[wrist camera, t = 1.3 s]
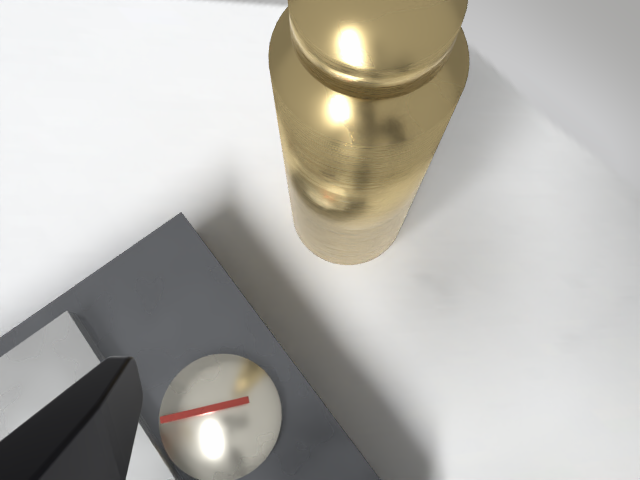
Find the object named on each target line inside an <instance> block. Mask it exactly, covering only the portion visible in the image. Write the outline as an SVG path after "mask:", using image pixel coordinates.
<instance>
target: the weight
mask: <svg viewBox="0 0 640 480" xmlns="http://www.w3.org/2000/svg"><path fill="white" fill-rule="evenodd" d="M467 4H468V0H288V7H287V8H286V10H285V11H284V12H283V13H282V15H281V17H280V18H279V20H278V22H277V23H276V26H275V28H274V31H273V33H272V37H271V41H270V45H269V69H270V75H271V82H272V88H273V94H274V101H275V107H276V113H277V120H278V126H279V133H280V139H281V145H282V152H283V158H284V164H285V171H286V177H287V184H288V190H289V196H290V203H291V209H292V215H293V221H294V226H295V229H296V232H297V234H298V236H299V238H300V239H301V241H302V242H303V244H304V245H305V246H306V247H307V248H308V249H309V250H310V251H311V252H312V253H314V254H315V255H317V256H318V257H320V258H322V259H324V260H326V261H329V262H332V263H336V264H341V265H355V264H361V263H365V262H368V261H370V260H372V259H374V258H376V257H378V256H379V255H381V254H382V253H384V252H385V251H386V250H387V249H388V248H389V247H390V246H391V244H392V243H393V242H394V240H395V239H396V237H397V235H398V232H399V230H400V228H401V226H402V224H403V221H404V219H405V217H406V215H407V213H408V210H409V208H410V206H411V204H412V202H413V199H414V197H415V195H416V193H417V191H418V188H419V186H420V184H421V182H422V180H423V178H424V175H425V173H426V171H427V169H428V167H429V164H430V162H431V160H432V158H433V156H434V153H435V151H436V149H437V147H438V145H439V142H440V140H441V138H442V136H443V134H444V131H445V129H446V127H447V125H448V123H449V120H450V118H451V116H452V114H453V112H454V109H455V107H456V105H457V103H458V101H459V98H460V96H461V94H462V92H463V90H464V87H465V84H466V81H467V77H468V71H469V51H468V45H467V41H466V38H465V35H464V32H463V30H462V28H461V24H462V22H463V19H464V16H465V13H466V9H467Z"/></svg>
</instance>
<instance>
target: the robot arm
mask: <svg viewBox="0 0 640 480" xmlns="http://www.w3.org/2000/svg"><path fill="white" fill-rule="evenodd" d="M142 404H143V390H142V386H141V382H140V377H139V373H138V368H137V364H136V361H135V359H134V358H133V357H132V356H110V357H108V358H106V359H104V360H103V361H102V362H101V363H99V364H98V365H97V366H95V367H94V368H93V369H92V370H90V371H89V372H88V373H87V374H85V375H84V376H83V377H81V378H80V379H79V380H78V381H76V382H75V383H74V384H72V385H71V386H70V387H69V388H67V389H66V390H65V391H63V392H62V393H61V394H60V395H58V396H57V397H56V398H54V399H53V400H52V401H51V402H49V403H48V404H47V405H45V406H44V407H43V408H42V409H40V410H39V411H38V412H36V413H35V414H34V415H33V416H31V417H30V418H29V419H27V420H26V421H25V422H24V423H22V424H21V425H20V426H18V427H17V428H16V429H15V430H13V431H12V432H11V433H9V434H8V435H7V436H6V437H4V438H3V439H2V440H0V480H126V476H127V472H128V467H129V463H130V458H131V454H132V449H133V445H134V440H135V436H136V431H137V427H138V422H139V418H140V413H141V409H142Z"/></svg>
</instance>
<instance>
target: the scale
mask: <svg viewBox="0 0 640 480" xmlns="http://www.w3.org/2000/svg"><path fill="white" fill-rule="evenodd" d="M110 356H132V357H133V358H134V359H135V361H136V364H137V368H138V373H139V377H140V382H141V386H142V390H143V404H142V409H141V413H140V418H139V422H138V427H137V431H136V436H135V440H134V445H133V449H132V454H131V458H130V463H129V467H128V472H127V476H126V480H380V479H379V477H378V476H377V475H376V473H375V472H374V470H373V469H372V468H371V466H370V465H369V464H368V462H367V461H366V460H365V458H364V457H363V456H362V454H361V453H360V452H359V450H358V449H357V448H356V446H355V445H354V444H353V442H352V441H351V440H350V438H349V437H348V436H347V434H346V433H345V431H344V430H343V429H342V427H341V426H340V425H339V423H338V422H337V421H336V419H335V418H334V417H333V415H332V414H331V413H330V411H329V410H328V409H327V407H326V406H325V405H324V403H323V402H322V401H321V399H320V398H319V397H318V395H317V394H316V392H315V391H314V390H313V388H312V387H311V386H310V384H309V383H308V382H307V380H306V379H305V378H304V376H303V375H302V374H301V372H300V371H299V370H298V368H297V367H296V366H295V364H294V363H293V362H292V360H291V359H290V358H289V356H288V355H287V353H286V352H285V351H284V349H283V348H282V347H281V345H280V344H279V343H278V341H277V340H276V339H275V337H274V336H273V335H272V333H271V332H270V331H269V329H268V328H267V327H266V325H265V324H264V323H263V321H262V320H261V319H260V317H259V316H258V314H257V313H256V312H255V310H254V309H253V308H252V306H251V305H250V304H249V302H248V301H247V300H246V298H245V297H244V296H243V294H242V293H241V292H240V290H239V289H238V288H237V286H236V285H235V284H234V282H233V281H232V280H231V278H230V277H229V275H228V274H227V273H226V271H225V270H224V269H223V267H222V266H221V265H220V263H219V262H218V261H217V259H216V258H215V257H214V255H213V254H212V253H211V251H210V250H209V249H208V247H207V246H206V245H205V243H204V242H203V241H202V239H201V238H200V236H199V235H198V234H197V232H196V231H195V230H194V228H193V227H192V226H191V224H190V223H189V222H188V220H187V219H186V218H185V216H184V215H183V214H182V212H181V213H179V214H178V215H177V216H175V217H174V218H172V219H171V220H169V221H168V222H166V223H165V224H164V225H162V226H161V227H159V228H158V229H156V230H155V231H153V232H152V233H151V234H149V235H148V236H146V237H145V238H143V239H142V240H140V241H139V242H138V243H136V244H135V245H133V246H132V247H130V248H129V249H127V250H126V251H125V252H123V253H122V254H120V255H119V256H117V257H116V258H114V259H113V260H112V261H110V262H109V263H107V264H106V265H104V266H103V267H101V268H100V269H99V270H97V271H96V272H94V273H93V274H91V275H90V276H88V277H87V278H86V279H84V280H83V281H81V282H80V283H78V284H77V285H75V286H74V287H73V288H71V289H70V290H68V291H67V292H65V293H64V294H62V295H61V296H60V297H58V298H57V299H55V300H54V301H52V302H51V303H49V304H48V305H47V306H45V307H44V308H42V309H41V310H39V311H38V312H36V313H35V314H34V315H32V316H31V317H29V318H28V319H26V320H25V321H23V322H22V323H21V324H19V325H18V326H16V327H15V328H13V329H12V330H10V331H9V332H8V333H6V334H5V335H3V336H2V337H0V440H2V439H3V438H4V437H6V436H7V435H8V434H9V433H11V432H12V431H13V430H15V429H16V428H17V427H18V426H20V425H21V424H22V423H24V422H25V421H26V420H27V419H29V418H30V417H31V416H33V415H34V414H35V413H36V412H38V411H39V410H40V409H42V408H43V407H44V406H45V405H47V404H48V403H49V402H51V401H52V400H53V399H54V398H56V397H57V396H58V395H60V394H61V393H62V392H63V391H65V390H66V389H67V388H69V387H70V386H71V385H72V384H74V383H75V382H76V381H78V380H79V379H80V378H81V377H83V376H84V375H85V374H87V373H88V372H89V371H90V370H92V369H93V368H94V367H95V366H97V365H98V364H99V363H101V362H102V361H103V360H104V359H106V358H108V357H110Z"/></svg>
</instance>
